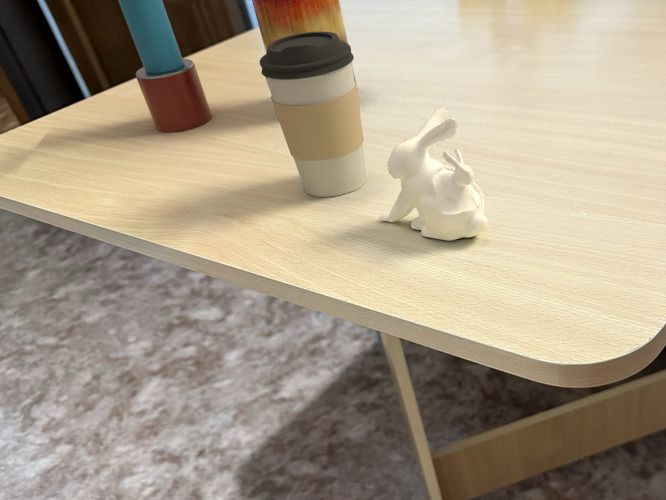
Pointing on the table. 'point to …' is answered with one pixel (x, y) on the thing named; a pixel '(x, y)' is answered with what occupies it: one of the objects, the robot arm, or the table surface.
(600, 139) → the table surface
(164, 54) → the teal blue cylinder
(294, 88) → the coffee cup
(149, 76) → the tin
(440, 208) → the rabbit figurine
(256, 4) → the vase
